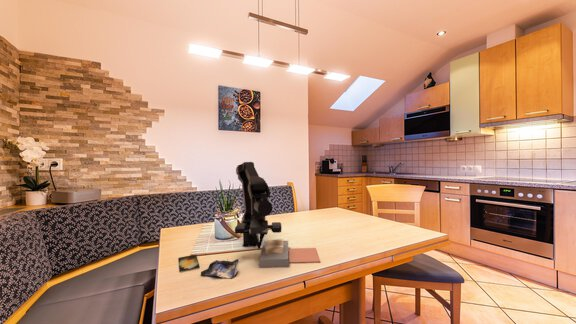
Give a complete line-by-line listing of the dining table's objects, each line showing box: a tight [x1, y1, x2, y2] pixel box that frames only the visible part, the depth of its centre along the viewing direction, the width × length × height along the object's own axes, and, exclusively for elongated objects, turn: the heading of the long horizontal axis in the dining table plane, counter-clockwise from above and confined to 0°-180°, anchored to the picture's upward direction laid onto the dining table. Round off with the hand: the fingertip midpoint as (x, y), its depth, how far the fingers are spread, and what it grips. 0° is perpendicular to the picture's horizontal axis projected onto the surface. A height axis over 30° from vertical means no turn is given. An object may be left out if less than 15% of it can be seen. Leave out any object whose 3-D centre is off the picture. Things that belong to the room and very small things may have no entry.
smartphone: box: [177, 254, 201, 274], centre depth 94 cm, size 7×1×15 cm
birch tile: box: [265, 238, 284, 254], centre depth 99 cm, size 7×9×2 cm
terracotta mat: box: [288, 247, 321, 264], centre depth 99 cm, size 12×14×1 cm
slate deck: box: [258, 240, 290, 269], centre depth 99 cm, size 11×20×3 cm, turn 0°
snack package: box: [200, 258, 240, 279], centre depth 85 cm, size 12×7×12 cm
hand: (259, 248), depth 99 cm, fingers closed
